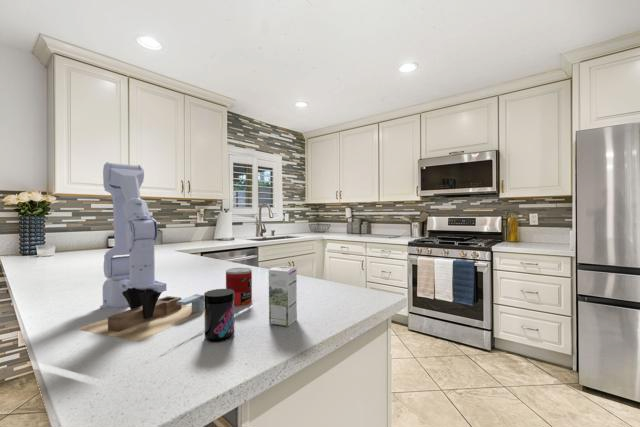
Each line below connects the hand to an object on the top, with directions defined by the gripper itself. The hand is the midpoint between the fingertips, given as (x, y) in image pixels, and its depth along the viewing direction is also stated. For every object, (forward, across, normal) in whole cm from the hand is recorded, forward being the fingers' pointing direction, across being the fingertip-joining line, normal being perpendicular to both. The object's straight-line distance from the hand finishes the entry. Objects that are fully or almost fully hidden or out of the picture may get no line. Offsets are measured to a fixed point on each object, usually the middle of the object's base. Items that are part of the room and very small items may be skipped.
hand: (142, 316), depth 79 cm
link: (+1, 0, +1) cm, 2 cm away
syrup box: (+2, +35, +12) cm, 37 cm away
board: (+2, 0, +2) cm, 2 cm away
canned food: (+2, +15, +22) cm, 26 cm away
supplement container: (+2, +25, 0) cm, 25 cm away
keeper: (+1, +9, +8) cm, 12 cm away
